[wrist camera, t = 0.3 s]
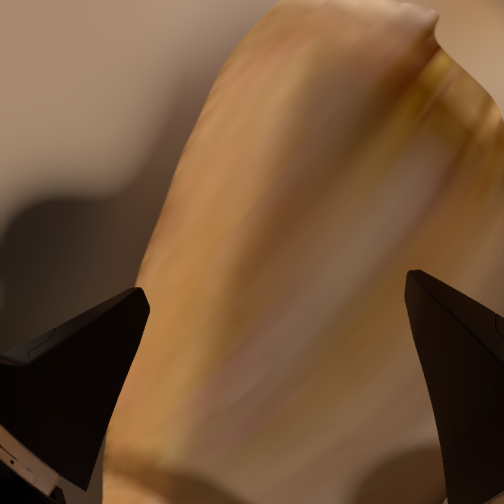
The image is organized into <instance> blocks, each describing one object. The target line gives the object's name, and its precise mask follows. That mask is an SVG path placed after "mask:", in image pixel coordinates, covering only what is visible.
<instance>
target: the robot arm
mask: <svg viewBox="0 0 504 504" xmlns="http://www.w3.org/2000/svg"><path fill="white" fill-rule="evenodd" d="M404 297H405V303H406V307H407V312H408V316H409V321H410V325H411V330H412V335H413V339H414V343H415V346H416V349H417V353H418V356H419V359H420V363H421V366H422V369H423V373H424V377H425V380H426V384H427V388H428V392H429V395H430V399H431V404H432V408H433V412H434V417H435V421H436V426H437V431H438V436H439V441H440V447H441V453H442V458H443V467H444V474H445V482H446V491H447V502H448V504H504V318H503V317H502V316H500V315H498V314H495V312H493V311H492V310H490V309H489V308H487V307H485V306H484V305H482V304H480V303H478V302H477V301H475V300H473V299H472V298H470V297H468V296H466V295H465V294H463V293H461V292H460V291H458V290H456V289H454V288H452V287H451V286H449V285H447V284H445V283H444V282H442V281H440V280H438V279H436V278H434V277H433V276H431V275H429V274H427V273H425V272H423V271H422V270H410V271H408V273H407V276H406V285H405V293H404ZM149 313H150V306H149V303H148V301H147V298H146V296H145V293H144V291H143V289H142V288H140V287H132V288H129V289H127V290H125V291H123V292H122V293H120V294H118V295H116V296H114V297H112V298H110V299H108V300H106V301H104V302H102V303H100V304H98V305H97V306H95V307H93V308H91V309H89V310H87V311H85V312H83V313H81V314H79V315H78V316H76V317H74V318H72V319H70V320H68V321H66V322H65V323H63V324H61V325H59V326H57V327H55V328H53V329H51V330H49V331H48V332H46V333H44V334H42V335H40V336H38V337H36V338H34V339H32V340H30V341H28V342H26V343H24V344H22V345H20V346H18V347H16V348H13V349H11V350H9V351H8V352H5V353H1V354H0V504H66V501H65V498H64V494H63V491H62V489H61V488H59V487H58V486H56V483H57V481H58V479H59V477H60V478H62V479H63V480H65V481H67V482H68V483H70V484H72V485H74V486H76V487H78V488H79V489H81V490H83V491H85V492H86V491H87V489H88V486H89V483H90V479H91V476H92V473H93V469H94V466H95V463H96V460H97V457H98V454H99V451H100V448H101V445H102V441H103V438H104V436H105V433H106V430H107V427H108V424H109V422H110V419H111V416H112V413H113V411H114V408H115V405H116V403H117V400H118V397H119V395H120V392H121V389H122V387H123V384H124V382H125V379H126V377H127V374H128V372H129V369H130V367H131V364H132V362H133V359H134V357H135V355H136V352H137V350H138V347H139V345H140V342H141V338H142V335H143V332H144V329H145V326H146V322H147V319H148V316H149Z"/></svg>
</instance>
